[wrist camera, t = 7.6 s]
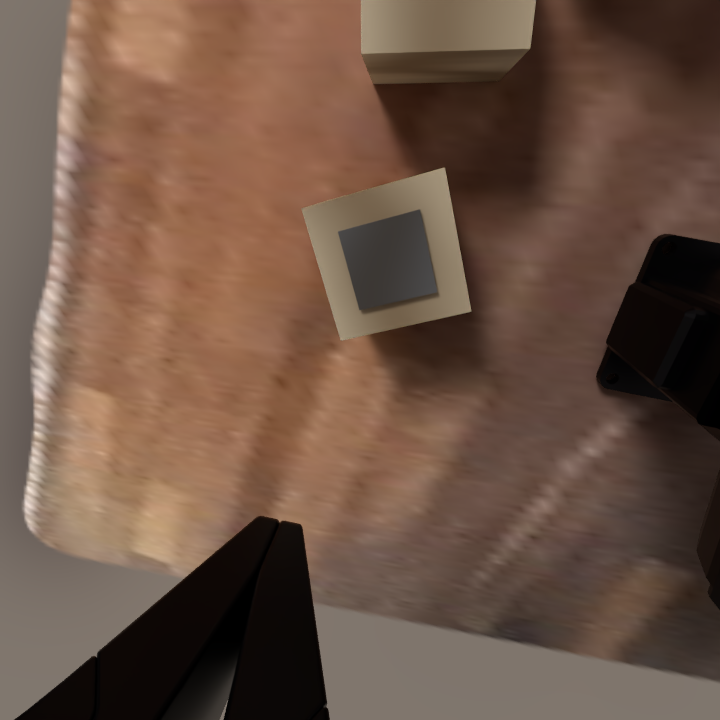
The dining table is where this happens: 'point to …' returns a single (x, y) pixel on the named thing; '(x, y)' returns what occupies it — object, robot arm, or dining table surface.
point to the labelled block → (390, 255)
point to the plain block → (444, 39)
